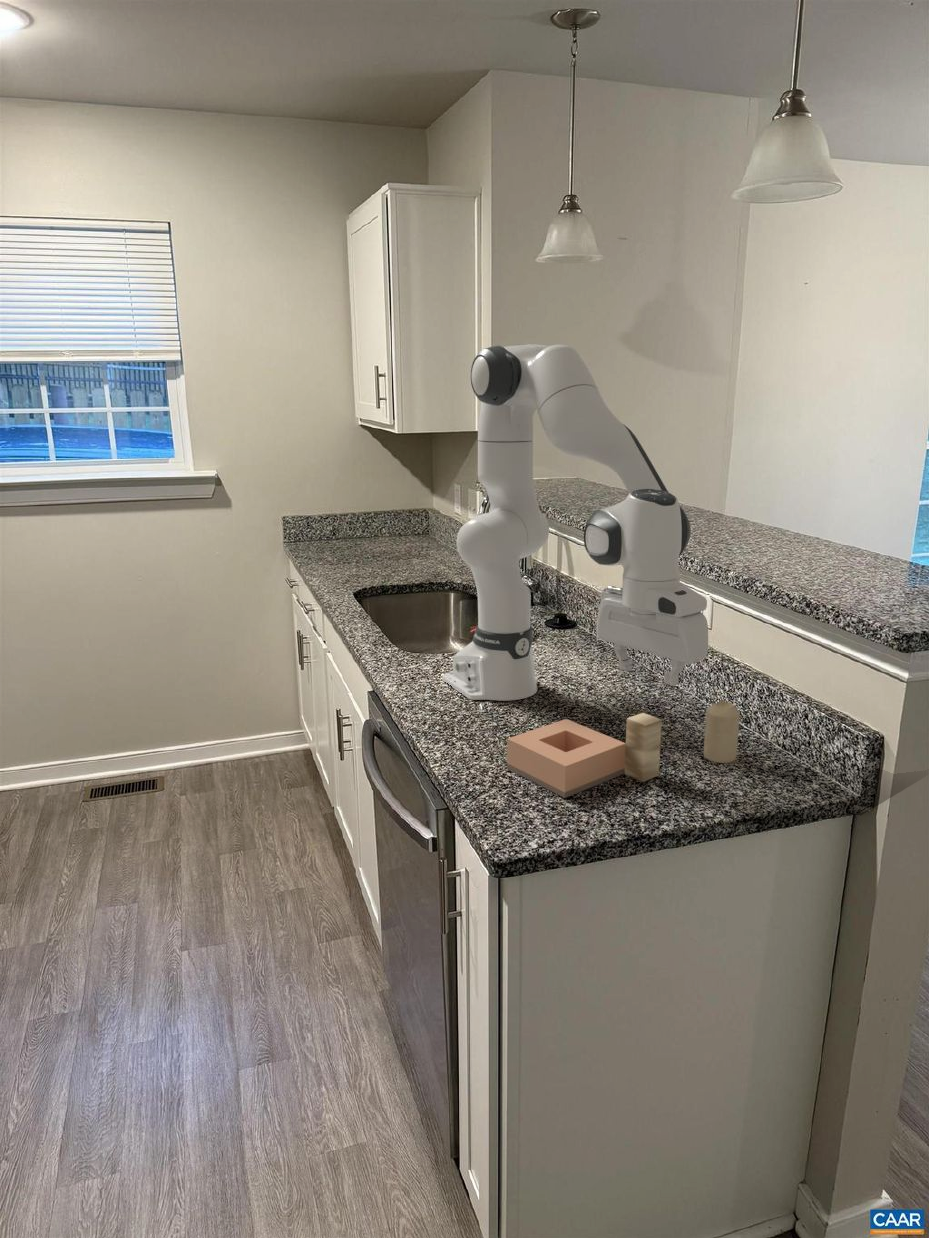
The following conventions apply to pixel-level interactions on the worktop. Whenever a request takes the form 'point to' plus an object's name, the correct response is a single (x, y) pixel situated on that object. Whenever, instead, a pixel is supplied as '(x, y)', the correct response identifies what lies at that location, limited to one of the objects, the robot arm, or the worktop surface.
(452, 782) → the worktop surface
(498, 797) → the worktop surface
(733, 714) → the candle
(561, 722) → the well block
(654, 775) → the peg
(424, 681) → the worktop surface
